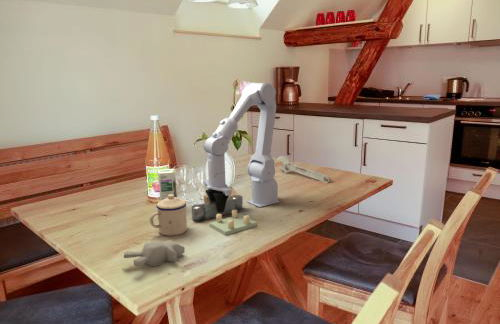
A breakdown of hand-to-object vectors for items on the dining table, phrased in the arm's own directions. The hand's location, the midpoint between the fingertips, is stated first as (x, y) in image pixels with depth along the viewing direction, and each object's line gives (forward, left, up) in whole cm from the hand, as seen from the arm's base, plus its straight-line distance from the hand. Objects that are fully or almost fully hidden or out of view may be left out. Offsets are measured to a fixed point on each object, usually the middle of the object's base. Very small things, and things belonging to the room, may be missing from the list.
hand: (218, 210), depth 138 cm
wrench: (-56, -17, -2) cm, 58 cm away
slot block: (-6, -9, -2) cm, 11 cm away
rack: (+2, +12, -2) cm, 12 cm away
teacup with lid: (+20, +3, -2) cm, 20 cm away
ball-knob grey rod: (0, 0, -1) cm, 1 cm away
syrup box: (+11, -16, -2) cm, 19 cm away
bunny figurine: (+31, +19, -2) cm, 37 cm away
